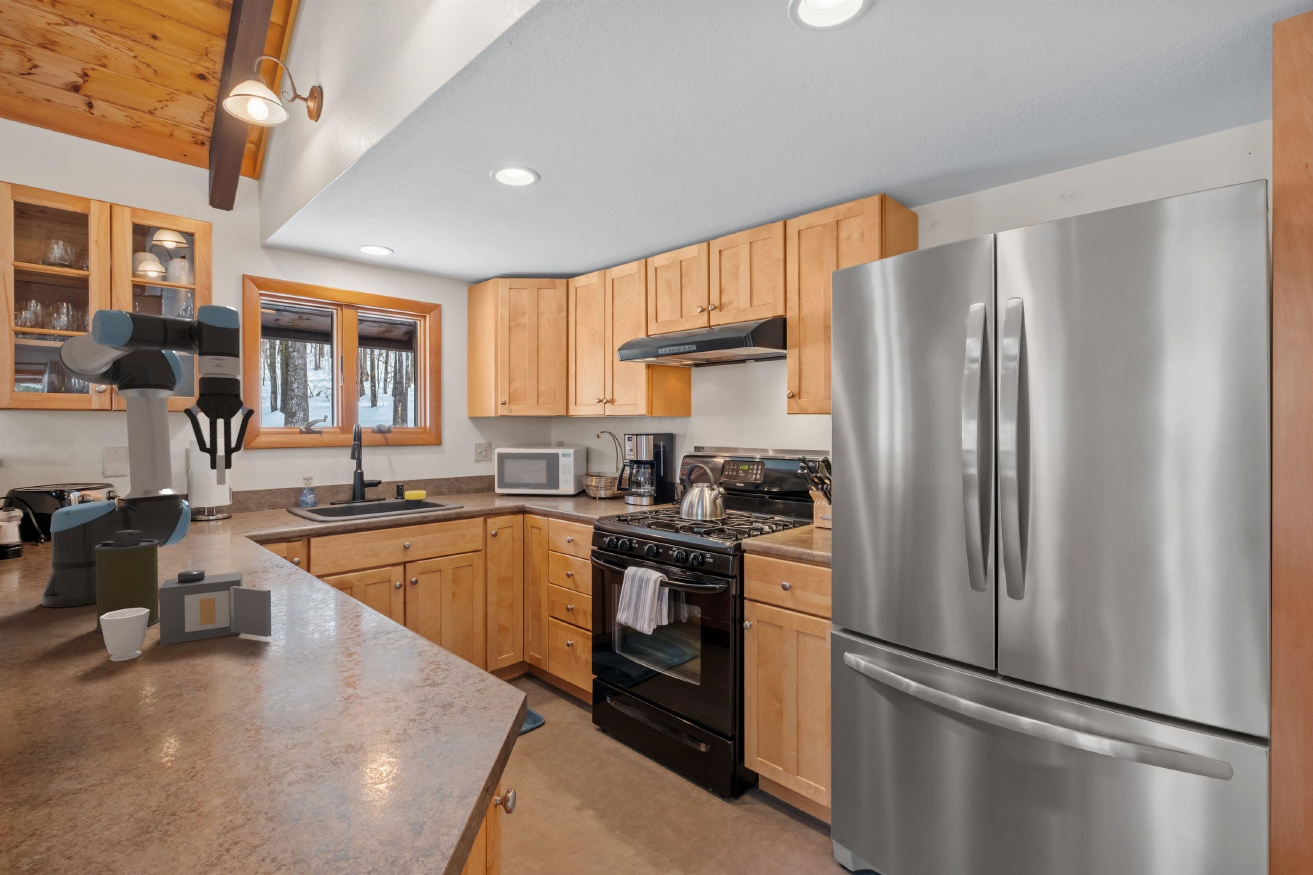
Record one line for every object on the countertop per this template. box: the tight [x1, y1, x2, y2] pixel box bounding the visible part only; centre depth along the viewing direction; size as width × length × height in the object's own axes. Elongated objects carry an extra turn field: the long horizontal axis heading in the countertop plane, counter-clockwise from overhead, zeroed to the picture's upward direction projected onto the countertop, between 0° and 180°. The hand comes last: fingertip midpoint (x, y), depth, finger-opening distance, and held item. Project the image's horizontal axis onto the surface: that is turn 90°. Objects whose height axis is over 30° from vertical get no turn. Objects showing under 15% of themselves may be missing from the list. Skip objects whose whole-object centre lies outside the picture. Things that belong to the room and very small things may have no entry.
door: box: [230, 586, 272, 638], centre depth 123 cm, size 2×10×9 cm, turn 71°
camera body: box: [158, 569, 244, 646], centre depth 126 cm, size 8×13×12 cm, turn 121°
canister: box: [94, 530, 160, 633], centre depth 132 cm, size 11×10×20 cm
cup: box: [99, 608, 150, 662], centre depth 115 cm, size 7×10×8 cm
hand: (221, 484), depth 137 cm, fingers closed
